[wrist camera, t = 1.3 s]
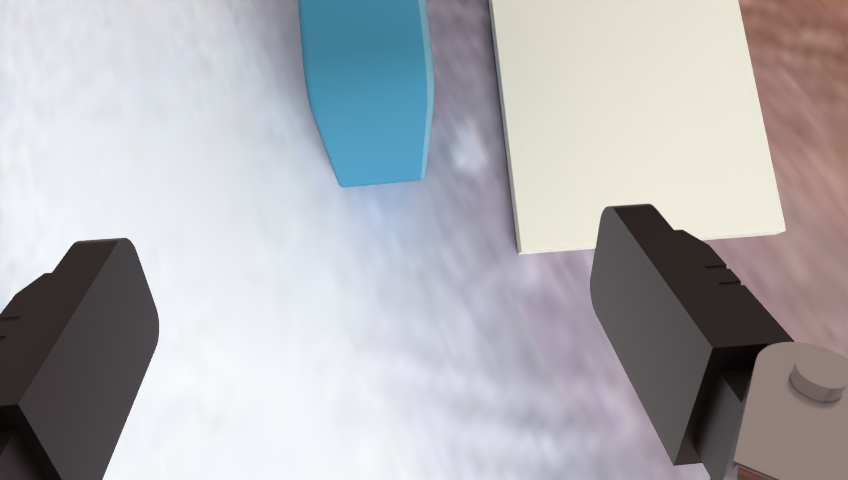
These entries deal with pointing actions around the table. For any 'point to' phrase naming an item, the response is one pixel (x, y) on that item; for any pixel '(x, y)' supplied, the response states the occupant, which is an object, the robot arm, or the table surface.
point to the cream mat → (631, 118)
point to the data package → (370, 86)
